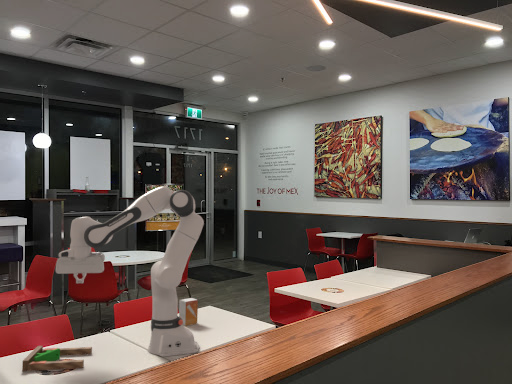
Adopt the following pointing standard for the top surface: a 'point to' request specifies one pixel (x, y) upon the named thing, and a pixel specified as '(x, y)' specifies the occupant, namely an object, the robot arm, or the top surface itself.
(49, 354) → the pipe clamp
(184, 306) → the small box
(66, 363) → the guide channel
